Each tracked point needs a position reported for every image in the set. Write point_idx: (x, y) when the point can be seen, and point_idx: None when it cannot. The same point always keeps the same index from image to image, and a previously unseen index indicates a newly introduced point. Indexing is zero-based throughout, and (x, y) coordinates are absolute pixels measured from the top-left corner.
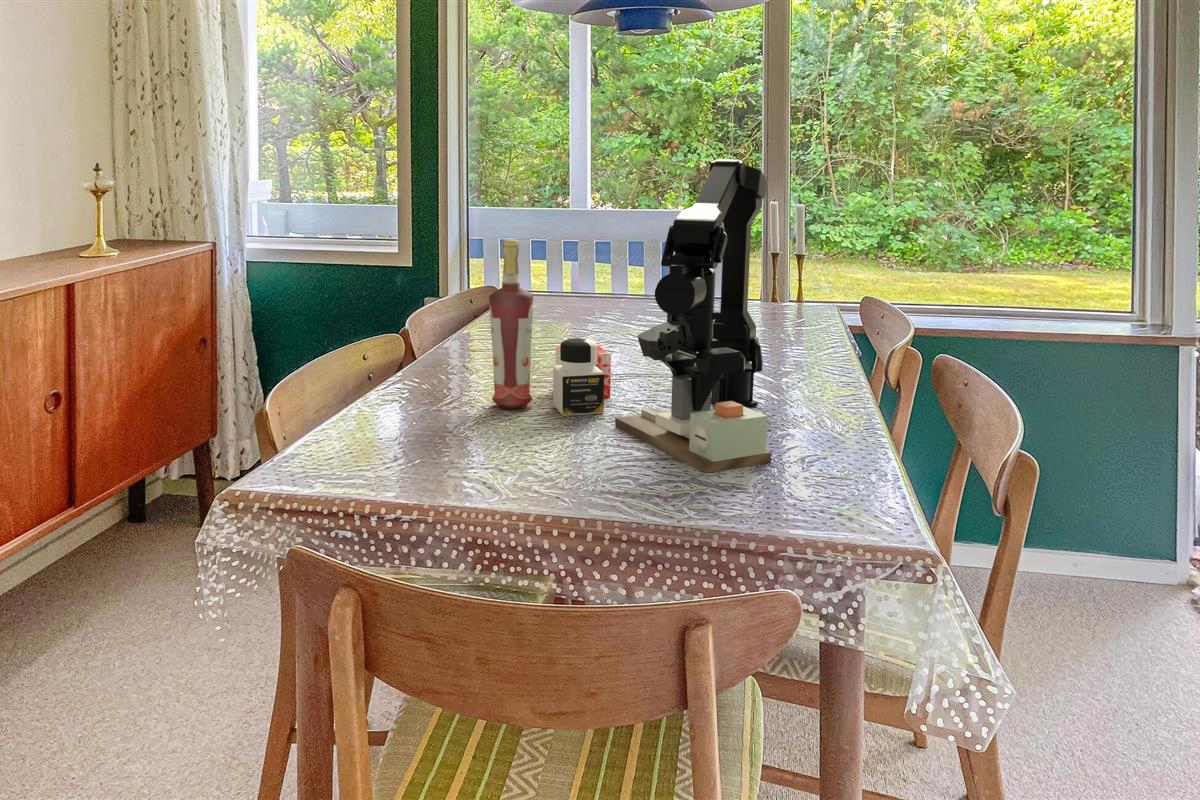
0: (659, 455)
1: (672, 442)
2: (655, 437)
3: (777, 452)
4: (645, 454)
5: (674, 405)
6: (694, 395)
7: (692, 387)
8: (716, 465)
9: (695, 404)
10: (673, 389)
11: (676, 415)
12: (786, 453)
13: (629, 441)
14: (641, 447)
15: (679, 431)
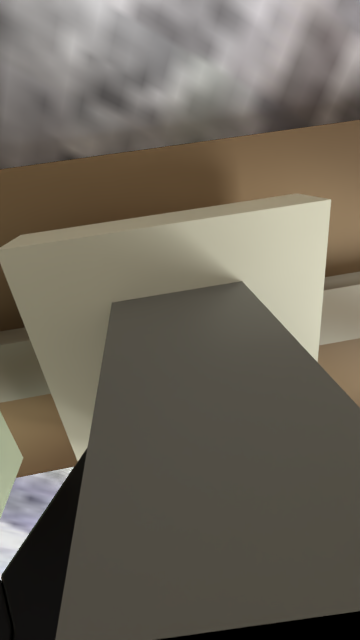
0: (42, 104)
1: (71, 198)
2: (185, 144)
3: (16, 509)
4: (74, 27)
5: (226, 320)
6: (57, 518)
7: (48, 613)
8: None
9: (86, 449)
10: (311, 404)
11: (181, 297)
12: (3, 523)
13: (318, 53)
14: (201, 70)
15: (22, 237)
